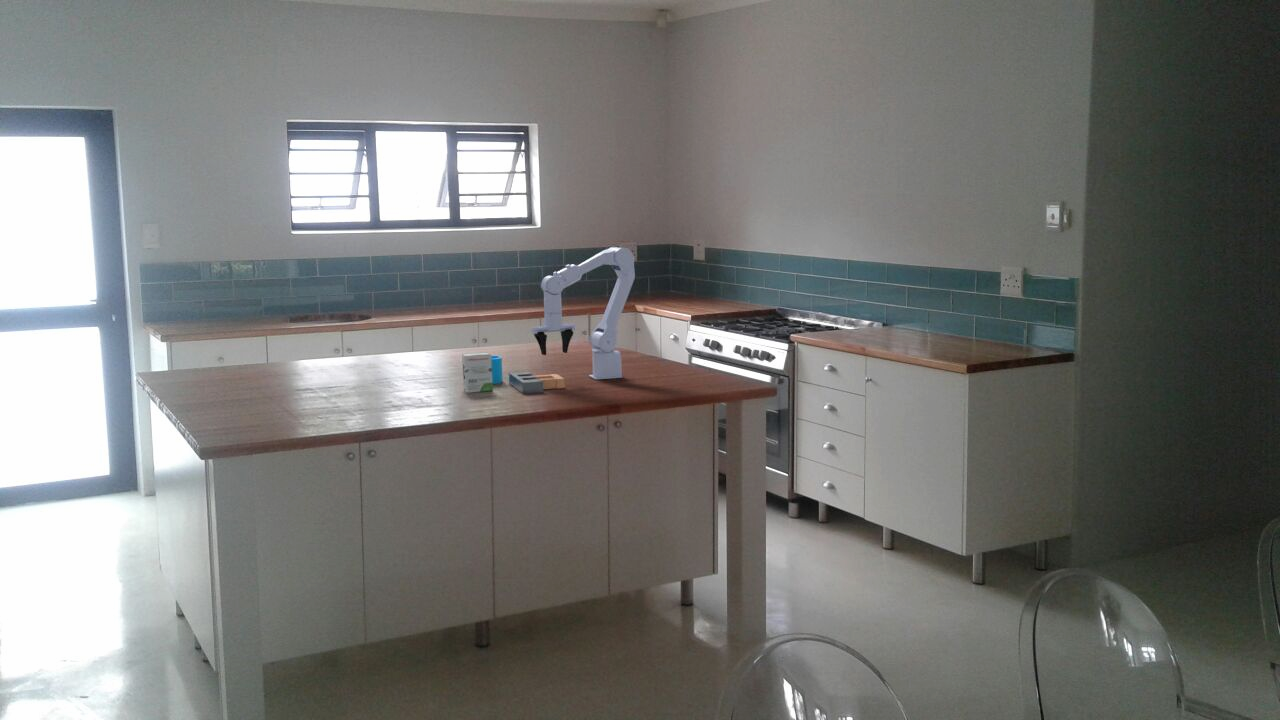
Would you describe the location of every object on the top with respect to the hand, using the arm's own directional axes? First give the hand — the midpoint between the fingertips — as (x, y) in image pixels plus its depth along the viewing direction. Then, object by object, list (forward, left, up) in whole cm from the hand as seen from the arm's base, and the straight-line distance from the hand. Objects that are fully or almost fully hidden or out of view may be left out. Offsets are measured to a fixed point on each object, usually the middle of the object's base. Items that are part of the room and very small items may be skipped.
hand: (554, 353), depth 372 cm
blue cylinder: (+20, -11, -10) cm, 24 cm away
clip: (+4, +7, -9) cm, 13 cm away
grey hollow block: (+12, +7, -9) cm, 17 cm away
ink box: (+27, +6, -10) cm, 29 cm away
